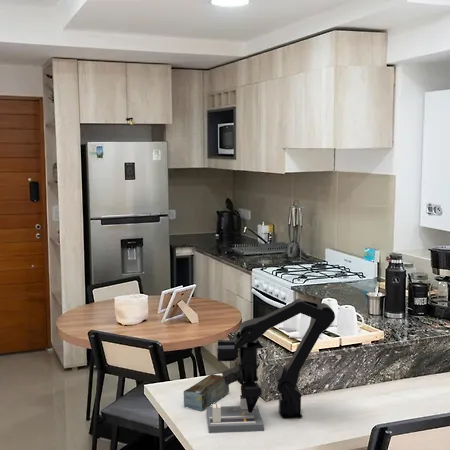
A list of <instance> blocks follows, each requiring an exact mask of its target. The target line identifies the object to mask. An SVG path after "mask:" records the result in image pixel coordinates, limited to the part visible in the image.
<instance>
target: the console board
mask: <svg viewBox="0 0 450 450" xmlns="http://www.w3.org/2000/svg"><path fill="white" fill-rule="evenodd" d="M206 418H207V426H208V427H207V429H208V433H209V434H210V433H211V434H212V433H215V434H216V433H234V432H235V433H237V432H242V433H243V432H261V431H262V432H263V431H265V423H264V420H263V418H262V413H261V411H260V408H259V406H258V405H257V404H256V409H253V411H252V413H249V412H248V410H247V409H241V408H240V405H233V406H232V405H231V406H230V405H229V406H221V422H219V423H213V419H212V406H209V407H207V408H206Z"/></svg>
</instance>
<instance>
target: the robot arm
mask: <svg viewBox="0 0 450 450" xmlns="http://www.w3.org/2000/svg"><path fill="white" fill-rule="evenodd" d="M300 314H302V315H304V316H307V317H308V318H309V317H310V321H309V324H308V328H307V330H306V331H305V332H304V335H303V337H302V339H301V340H300V342H299V344H298V345H297V347H296V349H295V351H294V353H293V355H292V356H291V358H290V360H289V361H288V363H287V364H285V366H284V365H283V364H279V368H278V369H277V372H275V374H274V376H275V377H274V383H275V386H276V388H277V391H278V392H279V394H280V399H278V412H279V414H280V416H281V418H282V419H296V418H297V419H299V418H302V417H303V415H302V411H301V410H302V409H301V408H302V393H301V390H300V389H299V386H298V380H299V375H300V372H301V369H302V368H303V366H304V364H305V362H306V361H307V359H308V357H309V355H310V354H311V352H312V350H313V349H314V347H315V346H316V343H317V341H318V340H319V338H320V337H321V335H322V334H323V333H324V332H325V331H326V330H328V329H329V327H330V326H331V325H332V324H333V322H334V321H335V319H336V314H335V311H334V310H333V308H332V307H330V305H329V304H327V303H324V302H323V303H322V302H321V303H316V302H313V301H309V300H304V299H302V298H297V299H295V300H294V301H292V302H290V303H287V304H285V305H284V306H282V307H280V308H277V309H276V310H273V311H272V312H270V313H268V314H266V315H263V316H261V317H256V318H255V317H254V318H251V319H247V320H245V321H243V322H241V323H240V325H239V328H238V329H239V330H238V332H237V333H236V334H235V336H234V337H233V340H229V339H226V340H223V339H218V340H217V348H216V360H217V362H235V360H236V361H237V359H238V357H239V361H238V362H237V366H235V367H232V368H229V369H227V370H224V371H222V372H221V376H223V378H224V381H225V383H226V385H229V386H230V385H231V384H233V383H235V382H237V383H239V384H240V395H242V396H243V397H244V398H246V402H247V408H248V412H249V413H252V411H253V409H254V407H255V404H256V405H257V402H258V401H259V398H260V397H261V396H262V393H263V392H262V387H261V384H259V383H258V382H259V377H258V369H259V365H258V349H263V348H264V344H263V343H262V342H261V341H260V340H259V338H261V337H262V336H264V334H265V333H266V332H267V331H269V330H270V329H272V328H274V327H275V326H276V327H277V326H278V325H280V324H282V323H284V322H285V321H288V320H290V319H291V318H293V317H295V316H298V315H300Z"/></svg>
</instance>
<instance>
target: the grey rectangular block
mask: <svg viewBox="0 0 450 450" xmlns="http://www.w3.org/2000/svg"><path fill="white" fill-rule="evenodd" d="M239 398H240V399H239V406H240V408H241V409H247V410H248V408H247V402H246V398H244V397H243V396H242V394H240V395H239ZM256 405H257V403H256V404H255V407H254V409H256Z"/></svg>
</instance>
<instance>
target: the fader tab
mask: <svg viewBox="0 0 450 450" xmlns="http://www.w3.org/2000/svg"><path fill="white" fill-rule="evenodd" d="M211 407H212V419H213V423H219V422H221V407H222V406H221V403H213V404H212V405H211Z"/></svg>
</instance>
